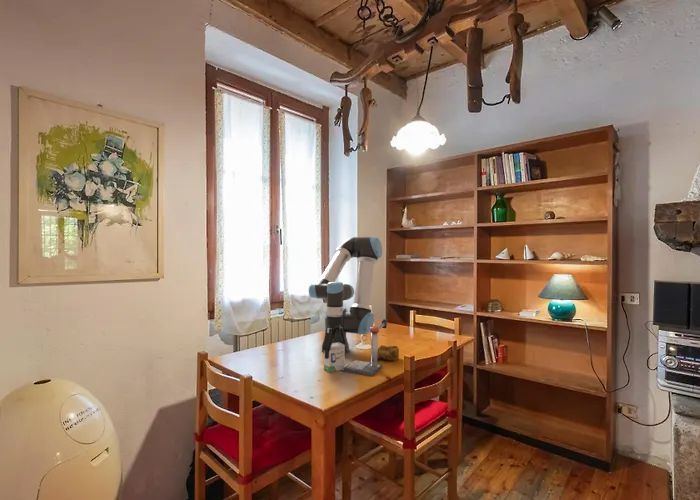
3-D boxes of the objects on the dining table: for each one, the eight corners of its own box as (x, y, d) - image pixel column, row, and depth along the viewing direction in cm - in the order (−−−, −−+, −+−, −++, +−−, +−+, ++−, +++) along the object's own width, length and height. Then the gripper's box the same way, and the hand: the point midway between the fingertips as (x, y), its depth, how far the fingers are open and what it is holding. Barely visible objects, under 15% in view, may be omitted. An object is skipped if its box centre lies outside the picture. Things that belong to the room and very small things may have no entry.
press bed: (343, 371, 170) (343, 332, 170) (354, 362, 183) (355, 326, 183) (373, 376, 164) (374, 336, 164) (383, 366, 177) (383, 329, 177)
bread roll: (372, 360, 187) (372, 344, 187) (376, 355, 196) (376, 340, 196) (397, 363, 183) (398, 347, 183) (400, 357, 193) (400, 342, 192)
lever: (369, 334, 170) (369, 325, 170) (381, 326, 187) (381, 318, 187) (377, 335, 169) (377, 326, 169) (388, 327, 185) (388, 319, 185)
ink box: (340, 366, 177) (340, 341, 177) (345, 369, 173) (345, 344, 173) (323, 369, 173) (323, 343, 173) (328, 372, 169) (328, 346, 169)
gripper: (330, 320, 160) (329, 370, 160) (352, 312, 183) (351, 355, 183) (314, 319, 163) (314, 367, 163) (338, 311, 186) (338, 353, 186)
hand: (334, 361), depth 173 cm, fingers open, 13 cm apart
